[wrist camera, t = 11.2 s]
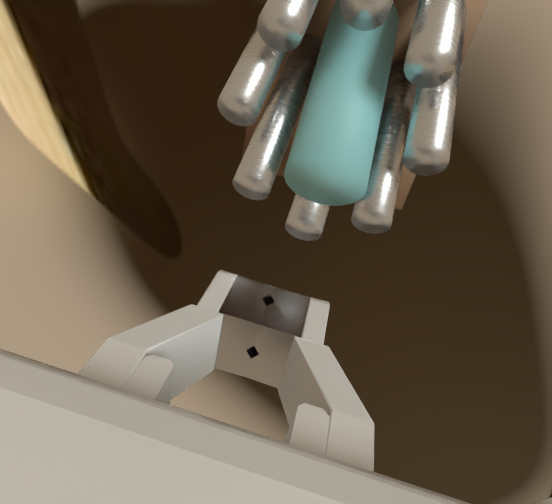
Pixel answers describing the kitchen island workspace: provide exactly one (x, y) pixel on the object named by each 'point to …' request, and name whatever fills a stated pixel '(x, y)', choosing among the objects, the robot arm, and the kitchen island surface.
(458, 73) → the metal rod rack
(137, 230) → the kitchen island surface
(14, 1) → the kitchen island surface
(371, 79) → the peg
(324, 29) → the socket block
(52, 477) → the robot arm
